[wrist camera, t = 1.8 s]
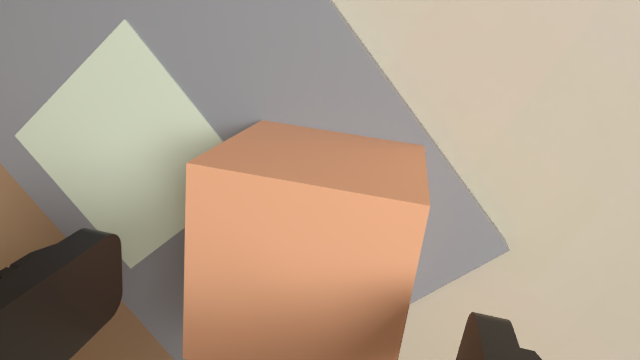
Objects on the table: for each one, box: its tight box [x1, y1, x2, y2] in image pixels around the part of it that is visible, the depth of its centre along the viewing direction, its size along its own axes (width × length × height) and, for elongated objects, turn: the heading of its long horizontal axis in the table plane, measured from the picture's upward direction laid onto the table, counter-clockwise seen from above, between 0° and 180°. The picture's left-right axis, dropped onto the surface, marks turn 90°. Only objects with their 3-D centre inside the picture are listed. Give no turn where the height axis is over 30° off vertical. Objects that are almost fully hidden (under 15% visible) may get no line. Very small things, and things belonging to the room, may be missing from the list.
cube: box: [183, 120, 430, 360], centre depth 15 cm, size 6×6×6 cm
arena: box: [0, 0, 509, 360], centre depth 15 cm, size 22×17×8 cm
